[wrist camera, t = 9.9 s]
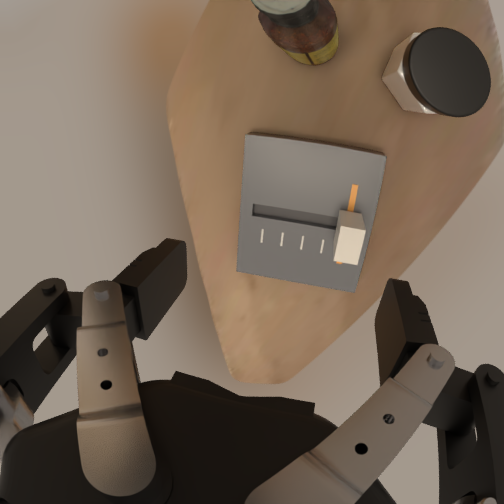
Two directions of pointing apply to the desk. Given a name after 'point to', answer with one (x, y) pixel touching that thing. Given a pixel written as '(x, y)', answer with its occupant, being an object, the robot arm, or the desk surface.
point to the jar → (438, 74)
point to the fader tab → (349, 237)
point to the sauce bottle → (301, 28)
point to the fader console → (303, 207)
